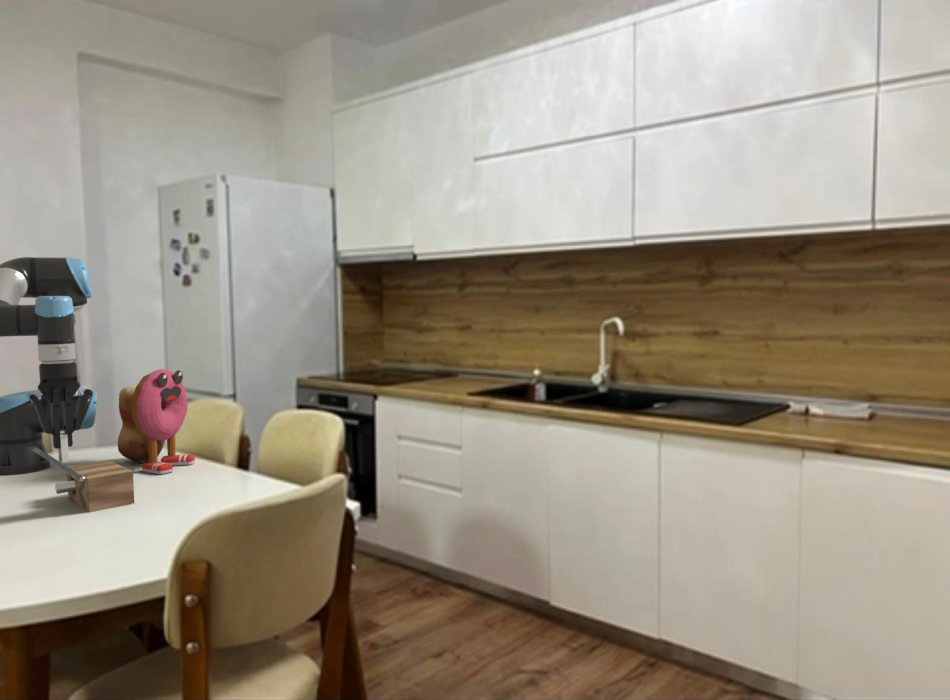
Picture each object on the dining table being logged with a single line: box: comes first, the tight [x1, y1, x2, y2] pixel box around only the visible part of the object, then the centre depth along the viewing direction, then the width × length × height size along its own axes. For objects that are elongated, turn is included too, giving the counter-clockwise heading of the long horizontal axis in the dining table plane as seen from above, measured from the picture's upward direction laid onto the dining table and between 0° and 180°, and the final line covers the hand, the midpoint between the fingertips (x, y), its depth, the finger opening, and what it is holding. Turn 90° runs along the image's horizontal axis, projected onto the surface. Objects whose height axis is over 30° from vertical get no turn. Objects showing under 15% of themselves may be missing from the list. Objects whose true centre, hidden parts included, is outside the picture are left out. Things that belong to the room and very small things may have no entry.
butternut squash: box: [117, 383, 166, 464], centre depth 213 cm, size 14×13×25 cm
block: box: [66, 460, 135, 513], centre depth 171 cm, size 18×10×8 cm, turn 45°
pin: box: [54, 480, 76, 495], centre depth 173 cm, size 15×5×5 cm, turn 135°
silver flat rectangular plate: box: [32, 447, 86, 482], centre depth 160 cm, size 7×1×12 cm
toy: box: [132, 368, 196, 475], centre depth 204 cm, size 21×10×30 cm, turn 168°
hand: (64, 461), depth 161 cm, fingers closed
